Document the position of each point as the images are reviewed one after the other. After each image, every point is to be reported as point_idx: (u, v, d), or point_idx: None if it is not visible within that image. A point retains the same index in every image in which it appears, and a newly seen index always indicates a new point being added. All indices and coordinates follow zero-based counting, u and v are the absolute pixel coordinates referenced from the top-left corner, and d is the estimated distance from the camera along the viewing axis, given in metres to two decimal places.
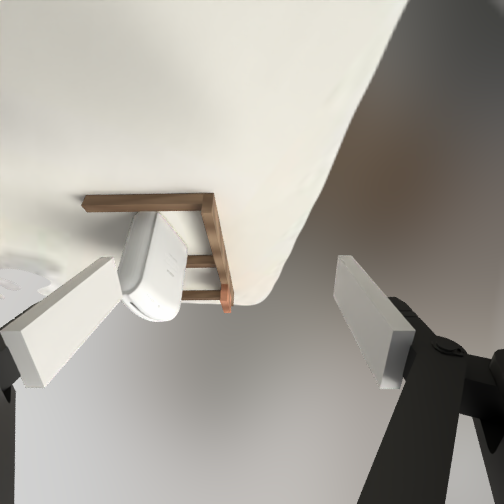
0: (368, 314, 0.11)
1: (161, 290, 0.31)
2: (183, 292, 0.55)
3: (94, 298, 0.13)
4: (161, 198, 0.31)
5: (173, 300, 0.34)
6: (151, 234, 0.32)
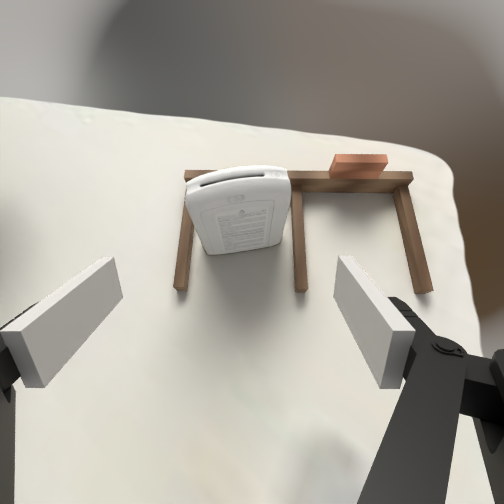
0: (368, 314, 0.11)
1: None
2: (407, 253, 0.32)
3: (94, 298, 0.13)
4: None
5: None
6: None
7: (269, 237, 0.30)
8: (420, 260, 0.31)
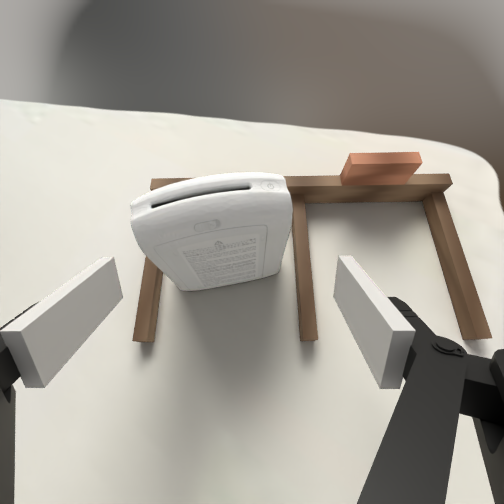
0: (368, 314, 0.11)
1: None
2: (449, 283, 0.24)
3: (94, 298, 0.13)
4: None
5: None
6: None
7: (263, 268, 0.22)
8: (470, 294, 0.23)
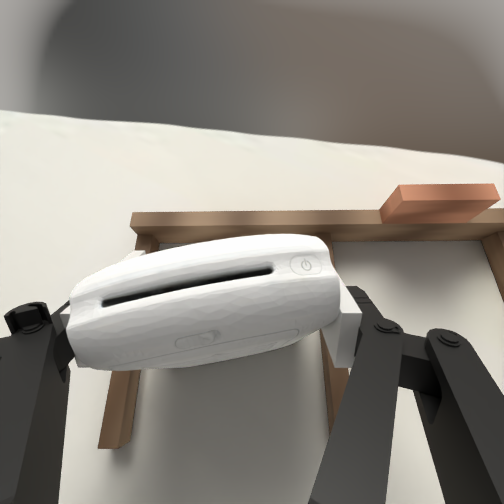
0: None
1: None
2: None
3: None
4: None
5: None
6: None
7: (281, 346, 0.16)
8: None
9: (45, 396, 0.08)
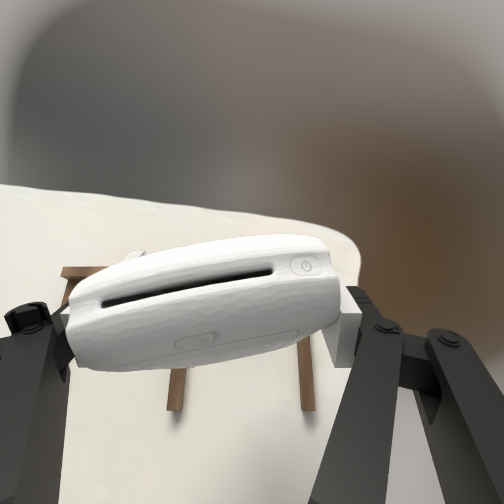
0: None
1: None
2: (298, 359, 0.30)
3: None
4: None
5: None
6: None
7: (281, 347, 0.16)
8: (306, 372, 0.28)
9: (45, 396, 0.08)
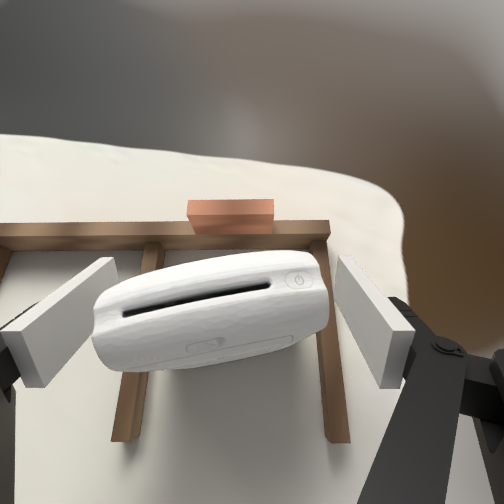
0: (368, 314, 0.11)
1: None
2: (319, 359, 0.20)
3: (94, 298, 0.13)
4: None
5: None
6: None
7: None
8: (333, 380, 0.18)
9: None
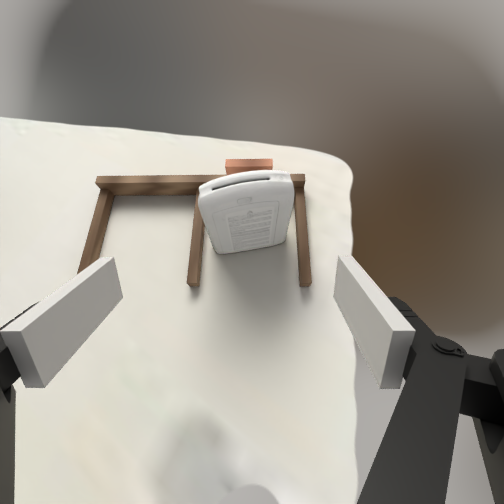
0: (368, 314, 0.11)
1: None
2: None
3: (94, 298, 0.13)
4: None
5: None
6: None
7: (274, 236, 0.33)
8: (304, 255, 0.33)
9: None
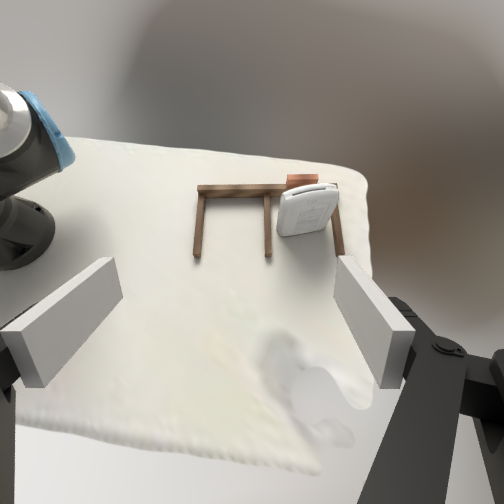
0: (368, 314, 0.11)
1: None
2: (333, 233, 0.54)
3: (94, 298, 0.13)
4: None
5: None
6: (278, 213, 0.52)
7: (320, 224, 0.51)
8: (338, 236, 0.52)
9: None
